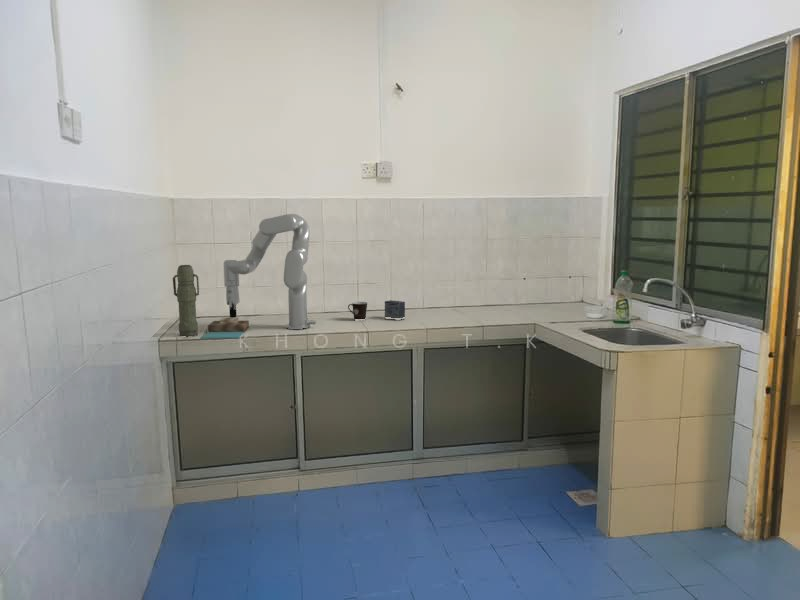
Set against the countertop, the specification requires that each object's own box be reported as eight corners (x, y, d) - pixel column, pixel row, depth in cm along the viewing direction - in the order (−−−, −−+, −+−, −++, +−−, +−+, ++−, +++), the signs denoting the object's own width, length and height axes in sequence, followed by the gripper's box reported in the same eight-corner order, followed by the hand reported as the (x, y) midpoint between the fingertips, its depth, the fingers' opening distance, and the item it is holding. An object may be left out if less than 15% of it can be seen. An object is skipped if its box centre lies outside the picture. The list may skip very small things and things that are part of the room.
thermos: (176, 333, 285) (172, 264, 280) (201, 332, 289) (197, 264, 283) (175, 337, 277) (171, 266, 271) (200, 336, 281) (197, 265, 275)
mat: (243, 332, 288) (243, 331, 288) (238, 338, 276) (238, 337, 276) (208, 333, 287) (207, 332, 287) (201, 338, 275) (201, 337, 275)
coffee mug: (370, 320, 323) (370, 303, 321) (357, 322, 318) (356, 304, 316) (359, 317, 332) (359, 300, 331) (347, 318, 327) (346, 301, 326)
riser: (248, 327, 301) (248, 320, 300) (244, 332, 289) (243, 325, 288) (214, 328, 299) (214, 320, 299) (208, 333, 288) (207, 325, 287)
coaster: (238, 321, 298) (238, 317, 298) (235, 323, 292) (235, 319, 292) (222, 321, 298) (222, 317, 297) (220, 323, 292) (219, 319, 291)
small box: (405, 319, 327) (405, 301, 326) (399, 321, 322) (399, 302, 320) (390, 317, 333) (390, 299, 331) (384, 319, 327) (384, 301, 326)
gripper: (235, 285, 294) (237, 319, 296) (241, 281, 308) (243, 314, 311) (221, 285, 293) (222, 319, 296) (227, 281, 308) (229, 314, 311)
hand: (233, 317), depth 304 cm, fingers closed
